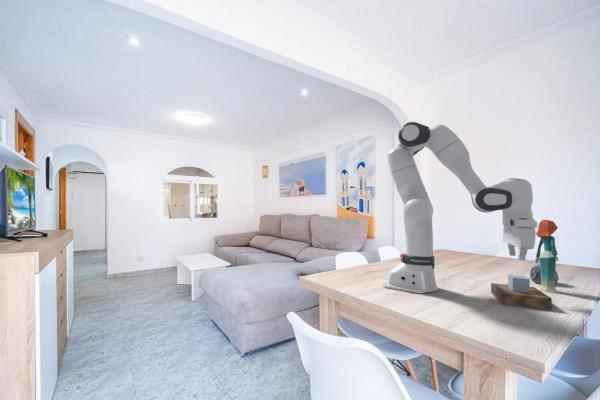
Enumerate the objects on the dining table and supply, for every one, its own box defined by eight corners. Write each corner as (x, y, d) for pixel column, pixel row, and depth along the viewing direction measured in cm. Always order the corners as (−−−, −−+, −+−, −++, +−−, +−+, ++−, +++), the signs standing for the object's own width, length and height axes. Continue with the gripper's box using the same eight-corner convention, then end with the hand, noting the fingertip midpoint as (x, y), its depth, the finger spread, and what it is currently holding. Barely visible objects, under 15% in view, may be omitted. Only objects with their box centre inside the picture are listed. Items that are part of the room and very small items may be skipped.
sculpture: (568, 295, 106) (567, 220, 106) (548, 294, 107) (547, 220, 108) (545, 286, 118) (544, 218, 119) (528, 285, 120) (526, 218, 120)
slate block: (512, 291, 99) (512, 277, 99) (508, 287, 103) (507, 274, 104) (529, 292, 97) (529, 279, 97) (524, 288, 102) (523, 275, 102)
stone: (548, 263, 120) (542, 258, 128) (526, 275, 124) (522, 270, 132) (567, 281, 116) (560, 275, 125) (544, 293, 120) (539, 287, 129)
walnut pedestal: (502, 304, 96) (502, 293, 96) (491, 292, 109) (490, 283, 109) (551, 310, 91) (551, 298, 91) (533, 297, 104) (533, 286, 104)
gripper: (498, 219, 112) (498, 252, 112) (516, 222, 93) (516, 262, 93) (516, 220, 109) (516, 253, 109) (539, 223, 90) (539, 263, 90)
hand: (516, 257), depth 101 cm, fingers open, 8 cm apart
